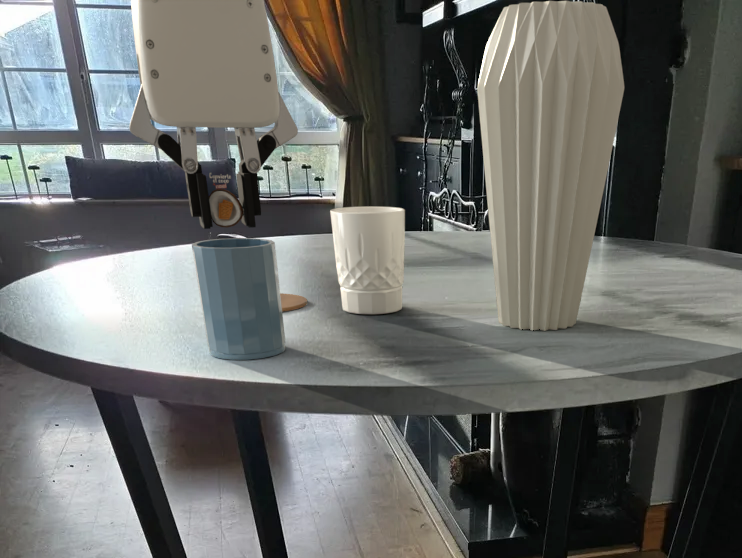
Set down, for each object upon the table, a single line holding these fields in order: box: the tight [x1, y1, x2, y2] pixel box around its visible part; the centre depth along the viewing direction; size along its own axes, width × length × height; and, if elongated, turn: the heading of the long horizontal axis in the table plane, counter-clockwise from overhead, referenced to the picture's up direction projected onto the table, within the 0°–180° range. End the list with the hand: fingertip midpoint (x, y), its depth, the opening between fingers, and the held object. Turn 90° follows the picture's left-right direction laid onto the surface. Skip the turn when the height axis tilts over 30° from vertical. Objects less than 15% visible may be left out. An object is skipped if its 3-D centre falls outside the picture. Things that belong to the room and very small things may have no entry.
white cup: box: [329, 206, 406, 315], centre depth 85 cm, size 8×8×10 cm
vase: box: [476, 0, 625, 332], centre depth 74 cm, size 13×13×26 cm
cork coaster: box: [280, 292, 308, 313], centre depth 89 cm, size 10×10×1 cm
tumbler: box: [191, 237, 286, 361], centre depth 69 cm, size 7×7×9 cm
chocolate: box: [209, 172, 244, 228], centre depth 65 cm, size 3×2×4 cm
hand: (227, 224), depth 66 cm, fingers closed on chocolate, 2 cm apart
